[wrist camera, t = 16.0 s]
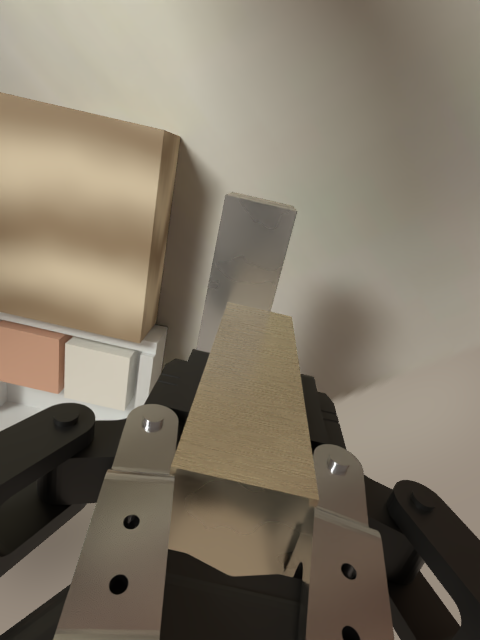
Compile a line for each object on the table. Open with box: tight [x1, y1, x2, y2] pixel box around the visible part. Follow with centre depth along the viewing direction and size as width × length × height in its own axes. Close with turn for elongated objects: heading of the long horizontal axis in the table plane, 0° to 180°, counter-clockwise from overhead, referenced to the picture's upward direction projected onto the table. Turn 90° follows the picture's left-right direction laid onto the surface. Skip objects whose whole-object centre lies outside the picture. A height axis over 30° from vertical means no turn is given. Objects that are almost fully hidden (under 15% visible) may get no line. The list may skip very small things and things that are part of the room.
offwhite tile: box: [64, 336, 138, 411], centre depth 29 cm, size 5×5×2 cm
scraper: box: [168, 192, 319, 576], centre depth 14 cm, size 4×12×13 cm, turn 168°
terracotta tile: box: [0, 320, 72, 394], centre depth 29 cm, size 5×5×2 cm
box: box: [0, 312, 168, 431], centre depth 29 cm, size 11×14×6 cm
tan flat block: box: [0, 92, 180, 344], centre depth 25 cm, size 14×12×4 cm
